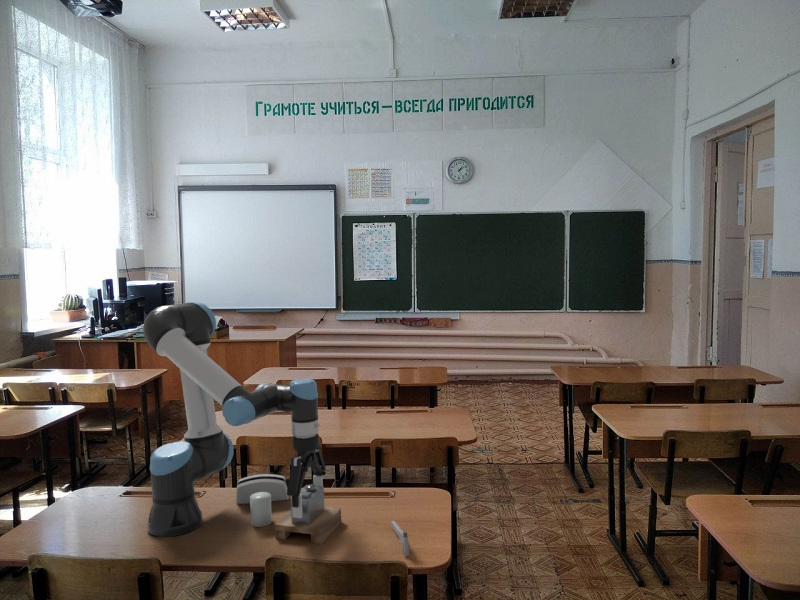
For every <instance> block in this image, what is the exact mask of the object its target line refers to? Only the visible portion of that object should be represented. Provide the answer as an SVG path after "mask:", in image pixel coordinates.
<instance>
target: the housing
mask: <svg viewBox="0 0 800 600" xmlns="http://www.w3.org/2000/svg"><path fill="white" fill-rule="evenodd" d="M324 489H325V486H323V487H322V486H316V485H313V483H312V484H306V485H305V486H303V487H302V488H301V492H300V494H302V513H303V517H302V518H294V517H292V497H290V510H291V518H292V523H296V524H304V525H310V524H311V523H312V522H313V521H314V520H315V519H316V518H317V517H318V516H319V515H320V514H321V513H322V512H323V511H324V510H325V508H324V507H325V490H324Z"/></svg>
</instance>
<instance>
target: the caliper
mask: <svg viewBox="0 0 800 600" xmlns="http://www.w3.org/2000/svg"><path fill="white" fill-rule="evenodd" d="M389 523H390V525H391V528H392V530H393V531H394V532H395V534H396V535H397V536H398V538H399V542H400V544H401V545H402V553H403V555H404V558H407V557H410V554H409V553H410V551H409V550H410V549H409V545H410V544H409V537H408V532H407V531H406V530H405V531H404V530H402V529H401V527H400V526H399V525H398V524H397V522H396V521H395V520H390V522H389Z"/></svg>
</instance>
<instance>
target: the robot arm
mask: <svg viewBox="0 0 800 600" xmlns="http://www.w3.org/2000/svg"><path fill="white" fill-rule="evenodd" d="M216 329H217V319H216V316H215V314H214V312H213V311H212V309H211V307H209V306H207V305H206V304H205V303H202V302H189V301H188V302H184V303H176V304H170V305H162V306H161V305H160V306H157V307H156V308H154V309H153V310H151V311H150V312H149V313H148V314H147V315H146V317H145V319H144V322H143V336H144V338H145V341H146V342H147V344H148V346H149V347H150V349H152V350H153V351H154V352H155V353H156V354H157V355H159V356H161V357H167V358H168V359H169V361H171V362H172V363H173V364H174V365H175V366H176V367H177V368H178V369H179V372H180V379H181V384H182V393H183V401H184V407H185V416H186V422H187V429H188V430H187V431H186V432H185V434H183V439H184V441H173V442H172V443H166V444H163V445H161V446H159V447H157V448H156V449H155V450H154V451H152V453H151V454H150V459H149V460H150V462H149V463H150V464H149V471H150V484H151V497H152V504H151V507H150V512H149V515H148V519H147V532H148V534H150V535H152V536H155V537H160V538H162V537H163V538H164V537H165V538H167V537H175V536H181V535H184V534H186V533H189V532H192V531H194V530H195V529H197V528H198V527H200V526H201V525H202V522H203V512H202V510H201V509H200V506H199V504H198V501H197V498H196V495H195V493H196V491H195V483H197V482H198V481H201V480H203V479H206V478H208V477H209V476H212V475H213V474H217V473H219V472H220V471H222V470H224V469H225V468H226V467H227V466H228V465H229V464H230V463H231V461H232V459H233V456H234V444H233V441H232V439H231V438H229V435H228V434H227V433H226V432H224V430H223V429H224V428H223V427H221V426H220V425H218V423H217V421H218V420H217V417H216V409H215V402H217V403H218V404H219V405H220V406H221V407H222V408H221V410H222V411H221V412H222V417H224V421H225V422H226V423H227V424H228V425H230V426H232V427H238V426H242V425H247V424H249V423H251V422H253V421H256V420H258V419H260V418H262V417H266V416H268V415H272V414H273V413H276V412H279V413H280V412H282V413H290V414H291V415H290V418H291V434H292V437H291V440H292V443H291V444H292V449H293V450H294V451H296V452H297V454H296V457H292V458H291V460H290V461H291V464H290V473H289V479H288V484H287V488H288V489H287V495H288V496H289V497H291V498H292V517H294V518H302V517H303V513H302V494H300V492H301V489H302V488H303V484H304V479H305V476H306V473H307V472H309V471H308V470H309V468H310V469H311V470H312V473H313V476H312V484H313V485H316V486H322V487H324V484H323V483H324V482H323V479H324V478H323V476H326V474H327V473H326V472H327V471H326V470H327V468H326V467H327V466H326V464H325V460H324V458H323V453H322V450H321V444H320V435H319V434H318V433H319V431H320V429H319V427H320V422H319V412H318V410H319V407H318V406H319V405H318V404H319V403H318V402H319V400H318V399H319V393H318V386H317V382H316V381H315V380H314V379H313V378H297V379H292V380H291V381H290V383H289V385H287V384H286V385H285V384H284V385H283V384H276V383H270V382H269V383H261V384H259V385H258V386H257V387H256V388H255V389H254V391H249V390H247V388H245V387H244V386H243V385H242V384H241V383H240V382H238V380H236V379H235V378H233V377H232V376H231V375H230V373H228V372H227V371H226V370H224V369H223V368H222V367H221V366H220V365H219V364H217V362H215V361H214V360H213V359H212V358H211V357H209V356H208V348H209V347H210V345H211V344H212V343H211V342H212V341H211V336H213V334H214V333H215V330H216ZM214 401H215V402H214Z"/></svg>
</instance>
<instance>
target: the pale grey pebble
mask: <svg viewBox="0 0 800 600" xmlns="http://www.w3.org/2000/svg"><path fill="white" fill-rule="evenodd" d="M249 506H250V507H249V508H250V525H251V526H253V527H256V528H263V527H267V526H269V525H270V524H271V523H273V518H272V516H273V515H272V501H271V494H270V493H268V492H258V493H254V494H252V495H251V496H250V503H249Z"/></svg>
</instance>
